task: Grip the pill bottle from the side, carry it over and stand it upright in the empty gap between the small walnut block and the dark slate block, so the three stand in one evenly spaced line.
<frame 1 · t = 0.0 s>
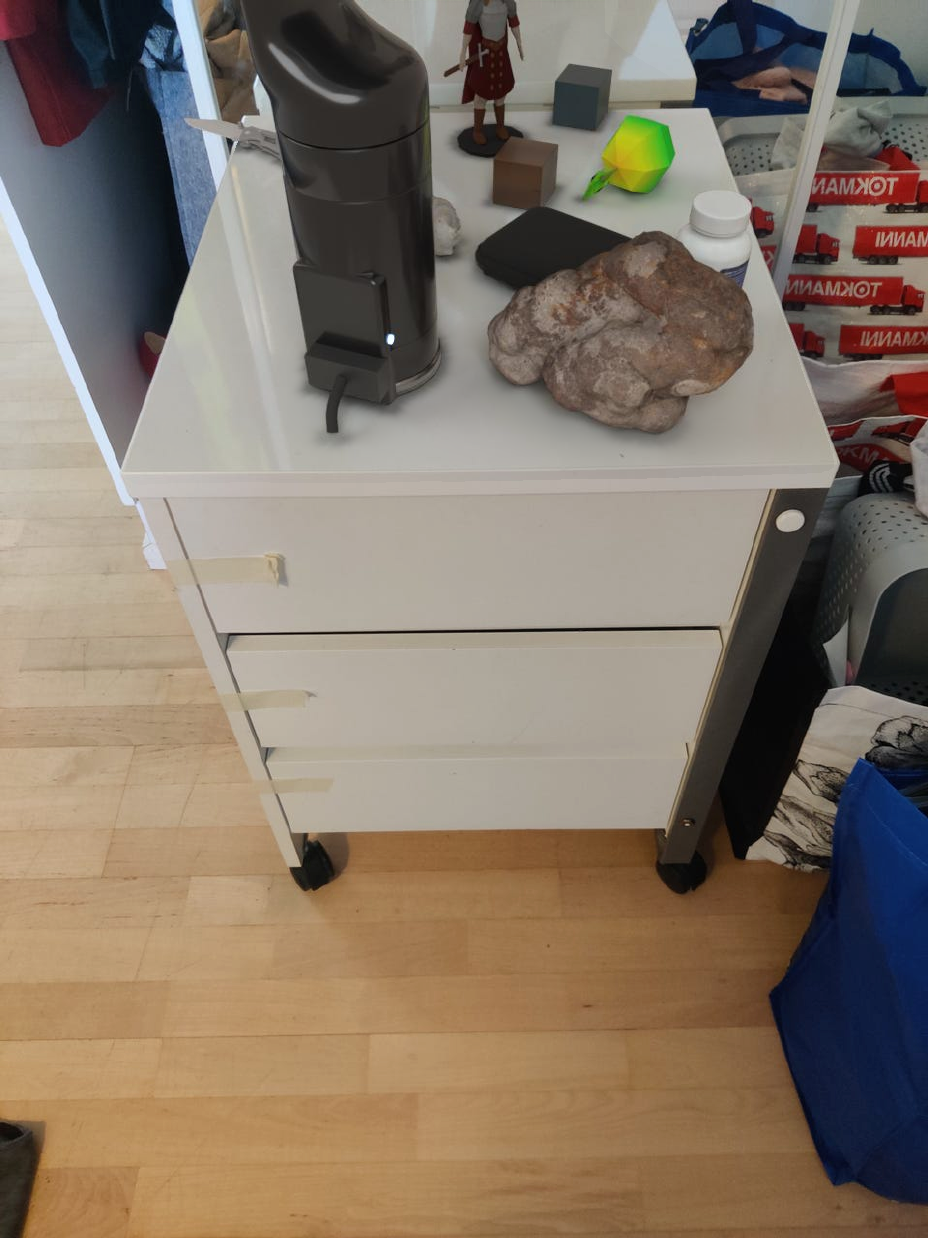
knife: (239, 147, 87), point 1 cm above the table
carrying case: (567, 285, 73), on the table
figurine: (489, 142, 88), on the table
pill bottle: (694, 329, 69), on the table
rock: (642, 296, 62), point 5 cm above the table
walnut block: (524, 195, 81), on the table
slate block: (580, 117, 91), on the table
seashell: (402, 227, 79), on the table
apple: (626, 193, 82), on the table
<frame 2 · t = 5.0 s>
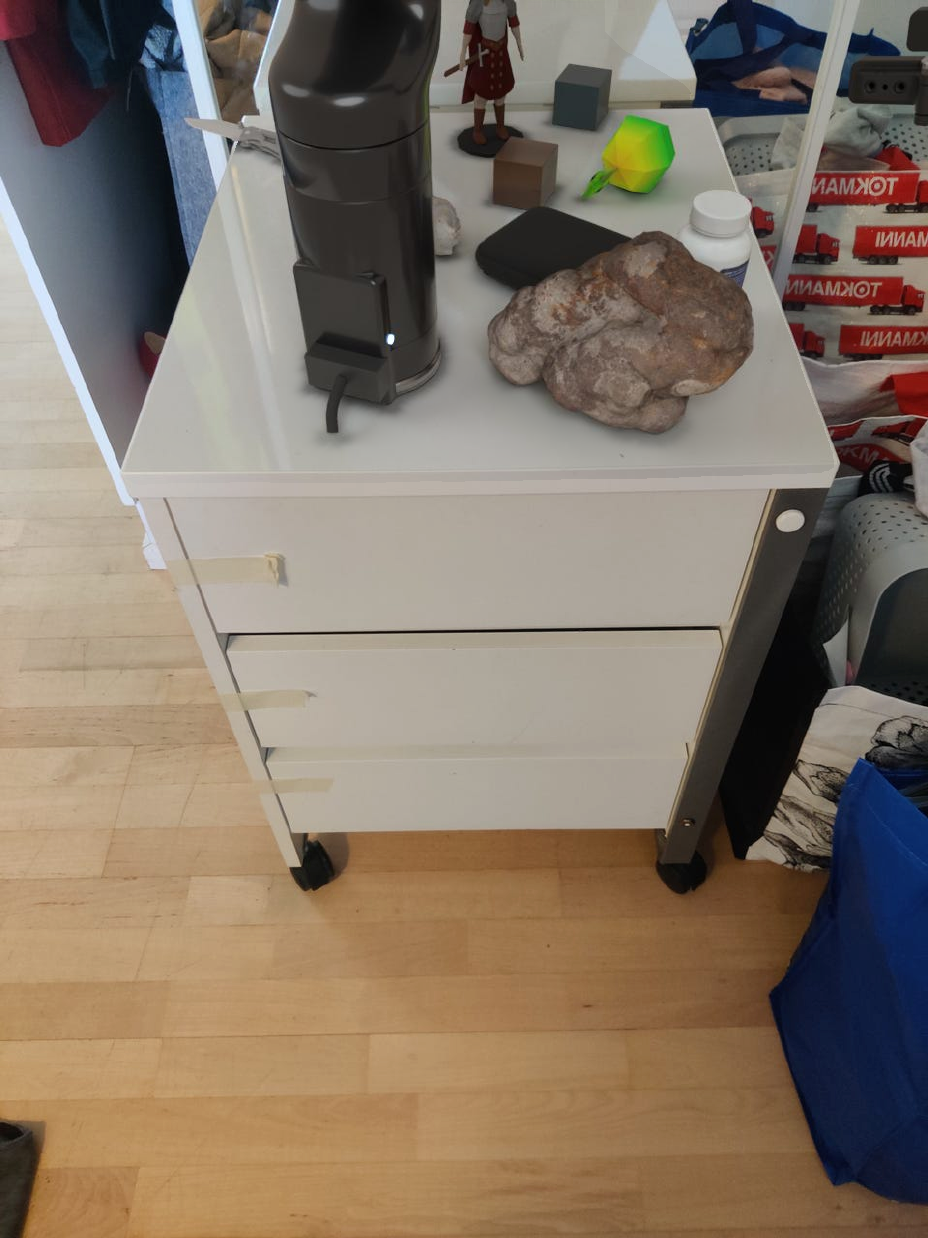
hand: (881, 53, 53), 19 cm above the table, tool horizontal, fingers open, 8 cm apart
nothing on the table moved.
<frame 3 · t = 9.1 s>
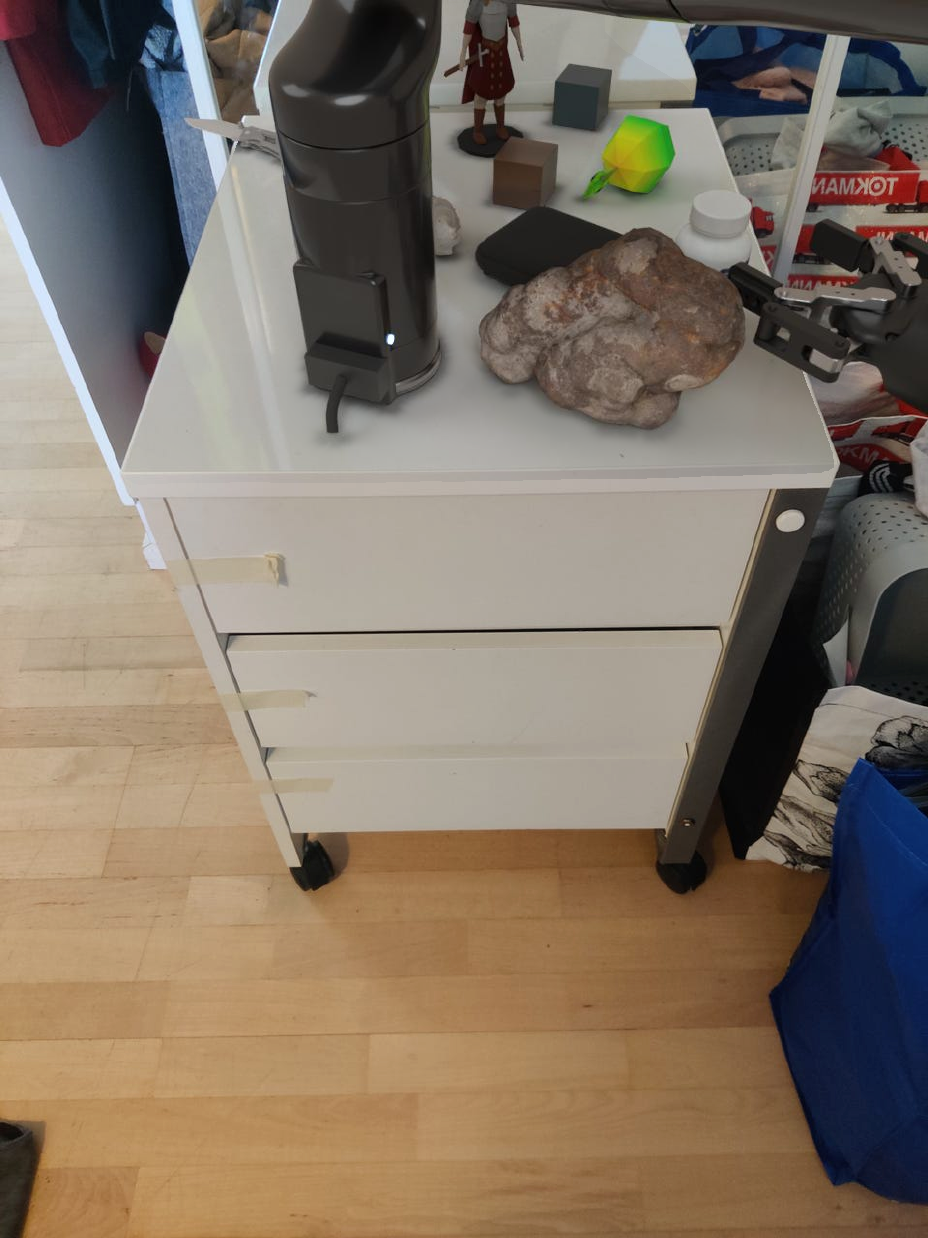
hand: (773, 254, 60), 8 cm above the table, tool horizontal, fingers open, 8 cm apart
nothing on the table moved.
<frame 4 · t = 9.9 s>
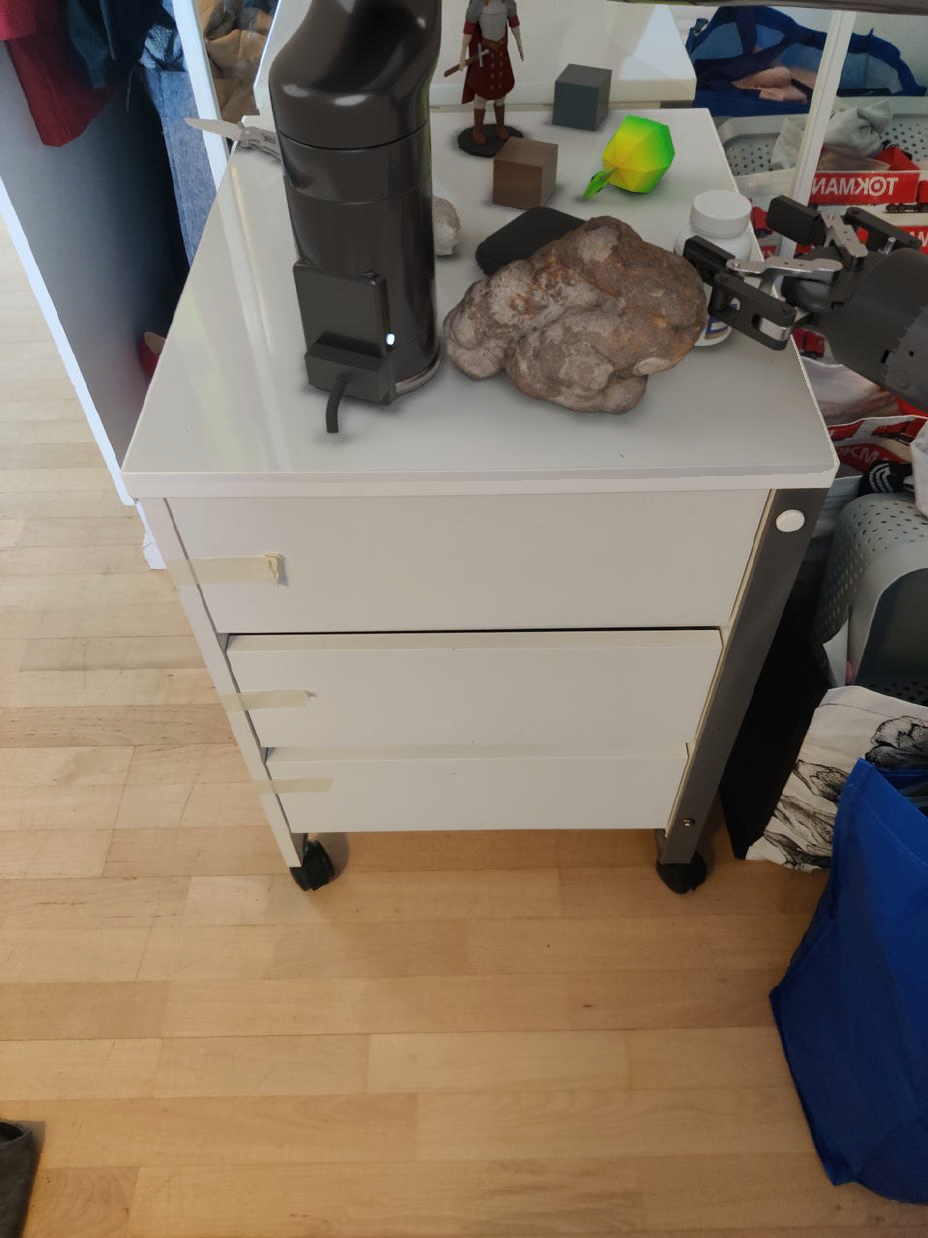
hand: (729, 228, 62), 8 cm above the table, tool horizontal, fingers open, 8 cm apart
rock: (591, 281, 63), point 5 cm above the table, touching gripper
everything else where it was.
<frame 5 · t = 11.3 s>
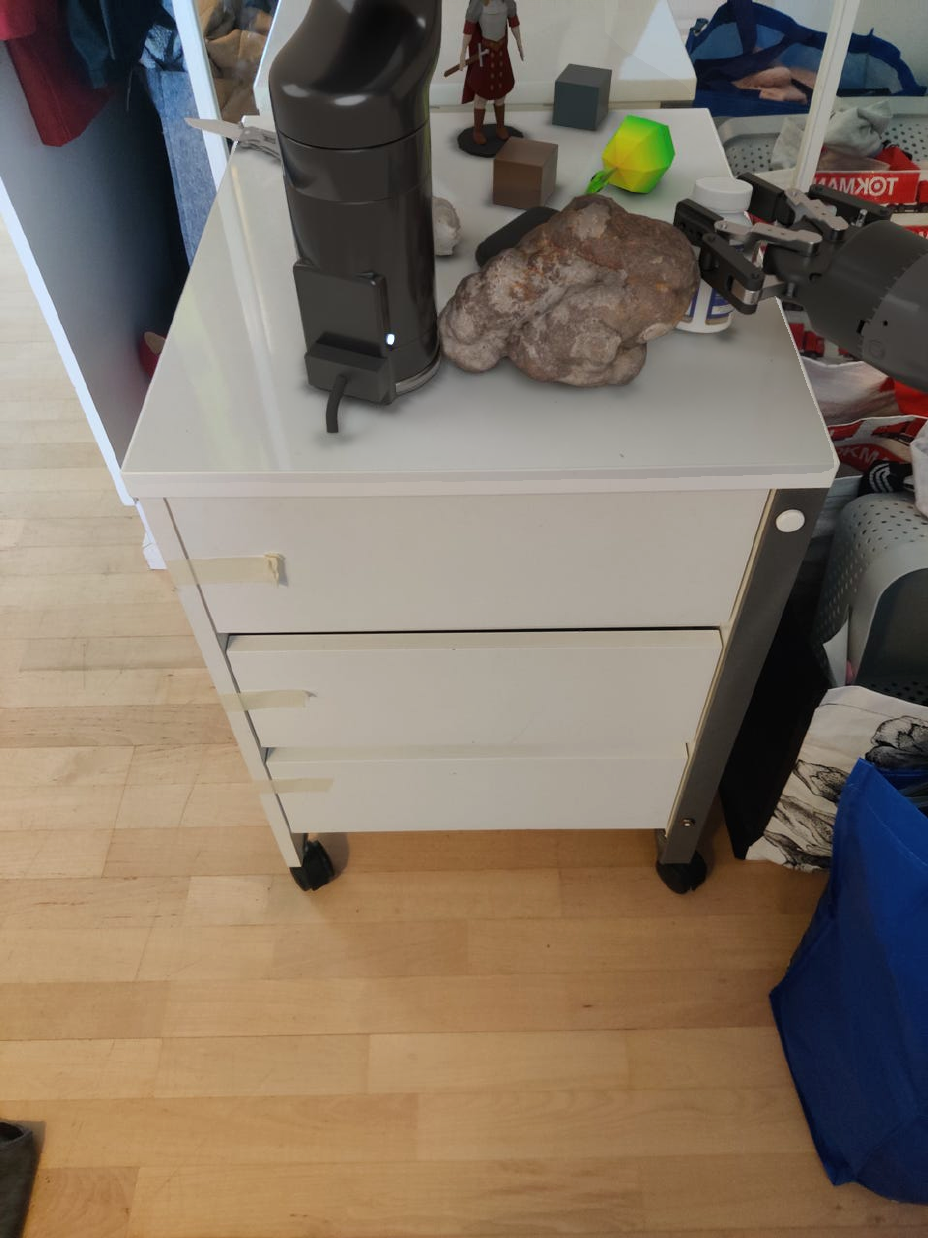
hand: (708, 200, 63), 9 cm above the table, tool horizontal, fingers closed on pill bottle, 5 cm apart
pill bottle: (694, 323, 69), on the table, touching gripper
rock: (571, 260, 64), point 6 cm above the table, touching arm, hand
everything else where it was.
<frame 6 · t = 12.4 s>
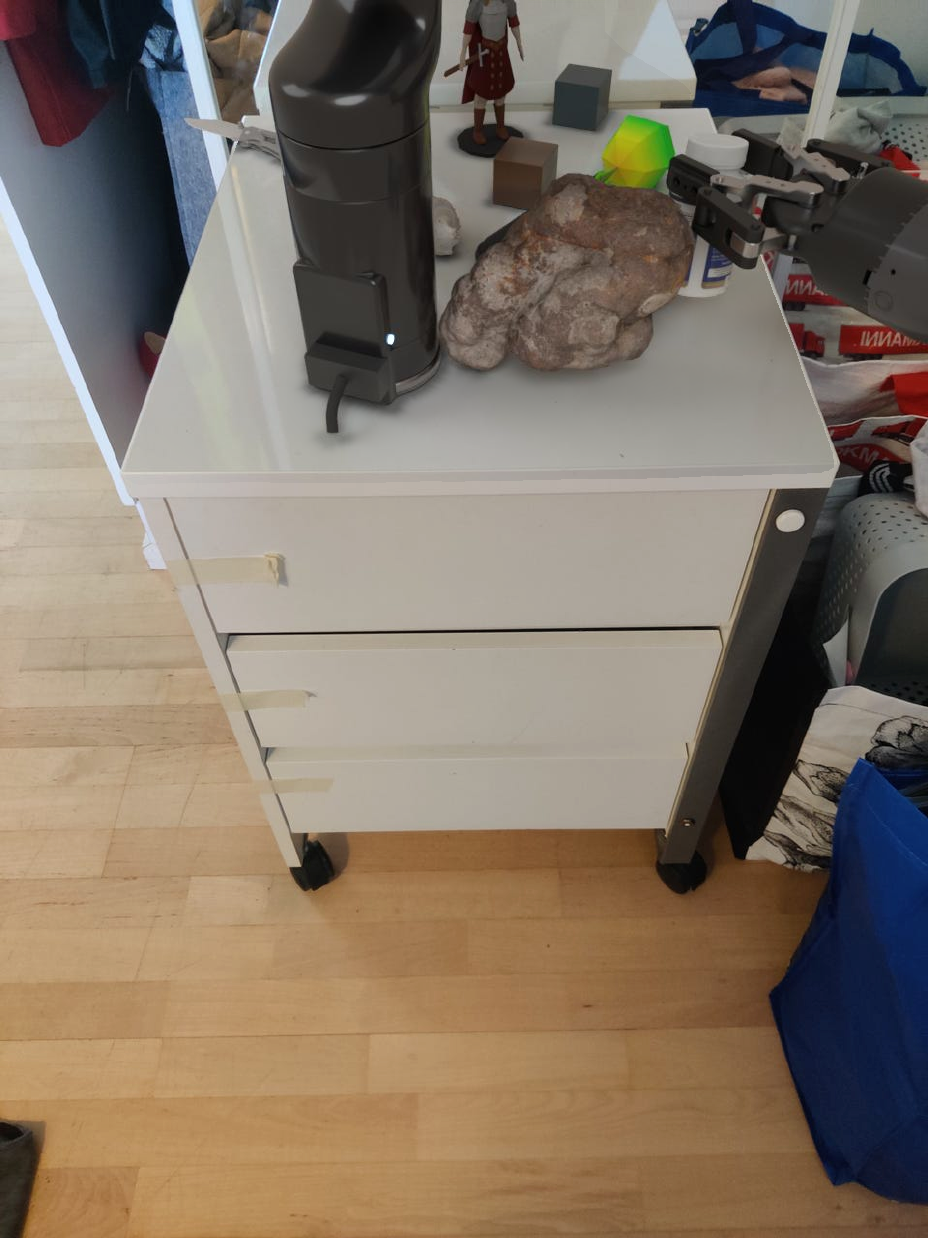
hand: (702, 157, 61), 12 cm above the table, tool horizontal, fingers closed on pill bottle, 5 cm apart
pill bottle: (689, 288, 66), point 3 cm above the table, touching gripper
rock: (566, 240, 63), point 7 cm above the table
everything else where it was.
when the fingers open (9 cm above the table, at t = 20.8 s): pill bottle stays where it is, on the table.
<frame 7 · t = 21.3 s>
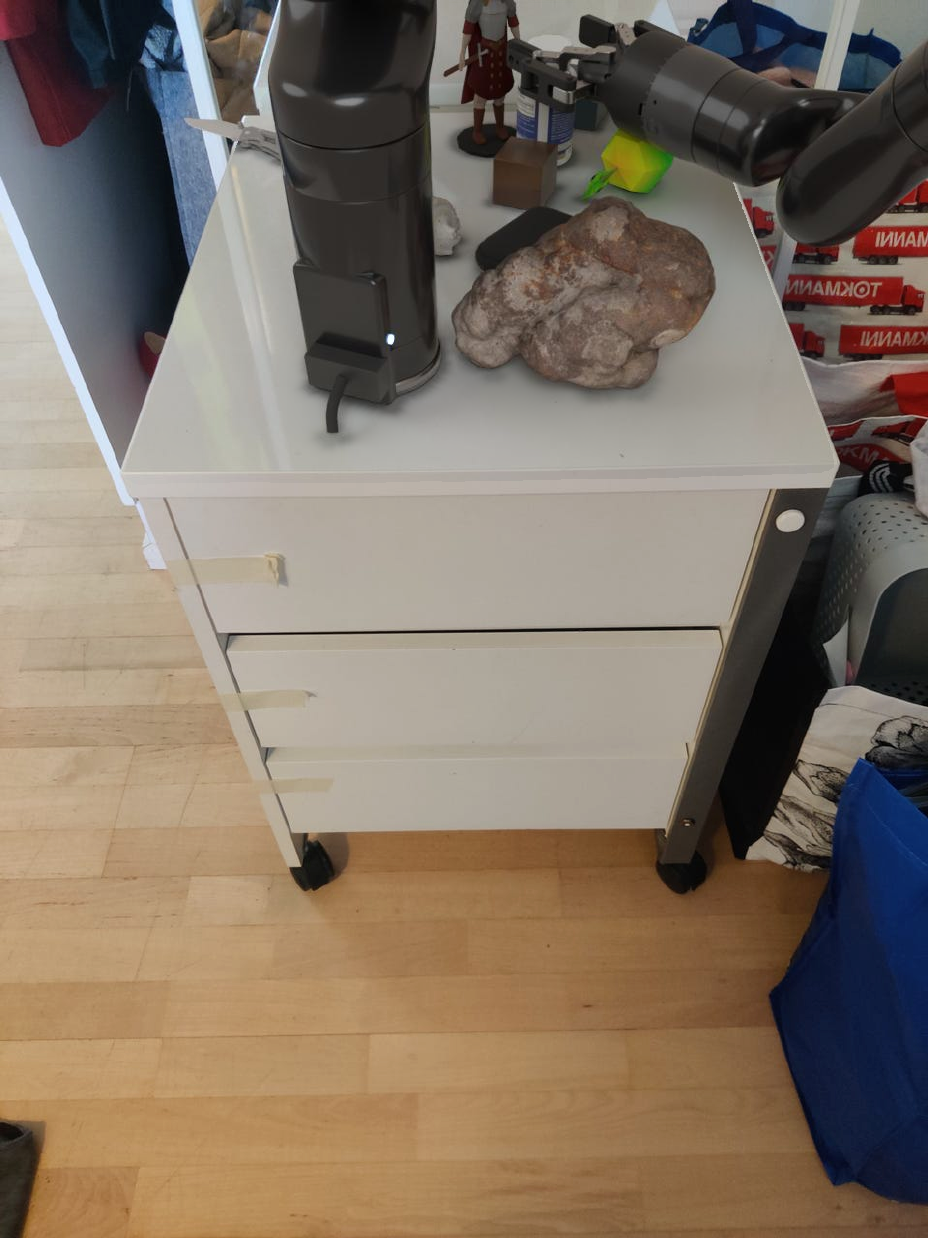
hand: (546, 38, 80), 9 cm above the table, tool horizontal, fingers open, 8 cm apart
pill bottle: (543, 158, 86), on the table
rock: (589, 262, 65), point 5 cm above the table
everything else where it was.
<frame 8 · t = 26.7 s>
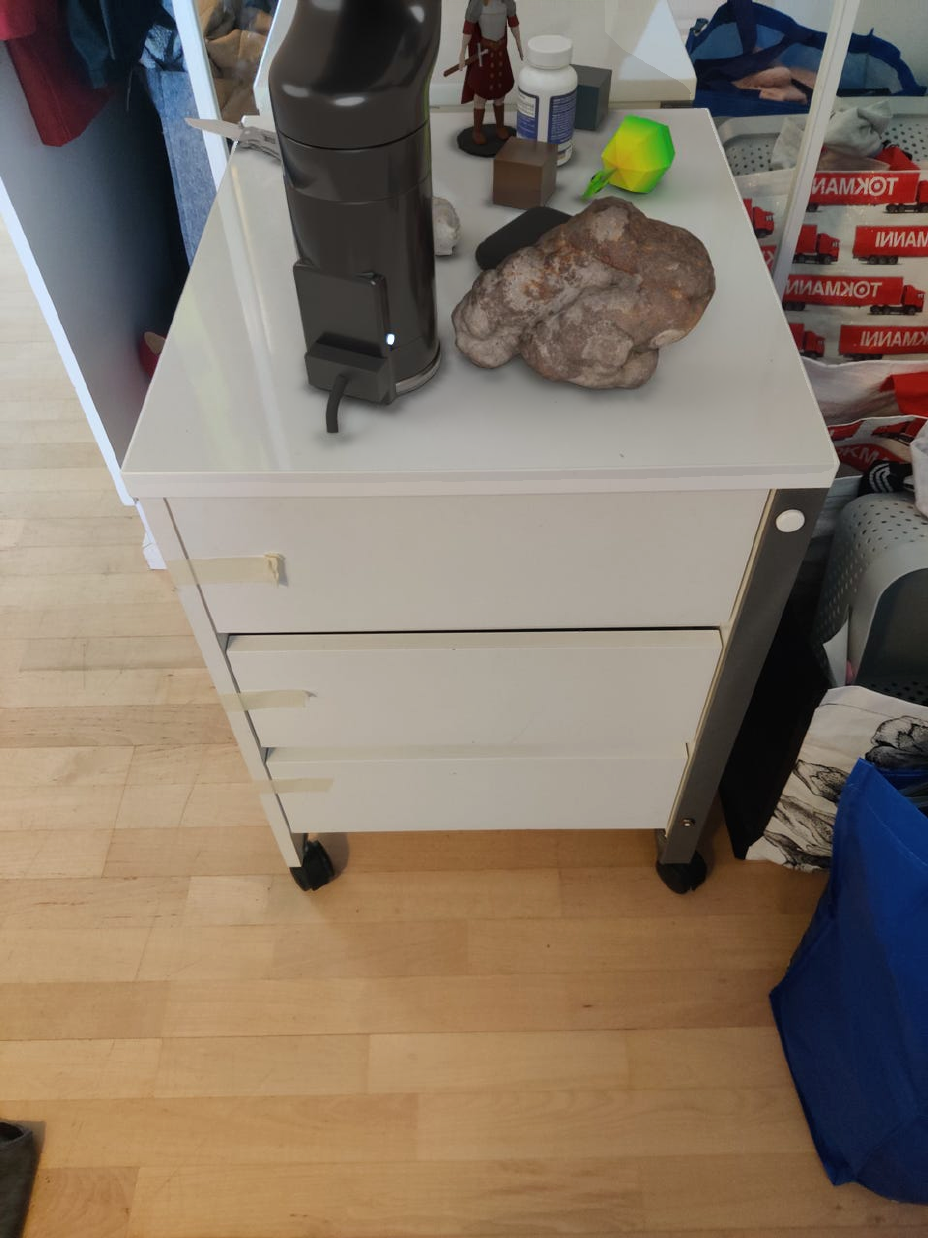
nothing on the table moved.
at the end: pill bottle 1.0 cm from the target spot on the table beside the slate block, on the table; pill bottle 1.0 cm from the target spot on the table beside the walnut block, on the table; pill bottle tilted 0° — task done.
